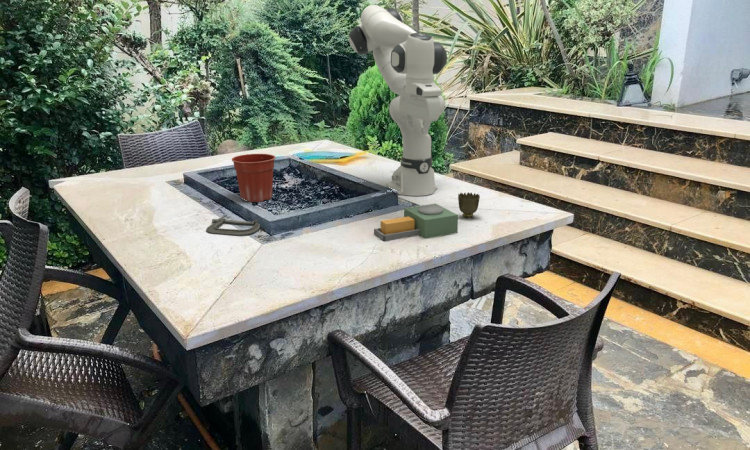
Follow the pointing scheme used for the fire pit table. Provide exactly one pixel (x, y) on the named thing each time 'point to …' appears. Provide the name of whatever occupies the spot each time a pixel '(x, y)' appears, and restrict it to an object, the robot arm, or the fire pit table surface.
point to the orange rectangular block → (397, 225)
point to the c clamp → (233, 232)
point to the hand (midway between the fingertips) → (417, 130)
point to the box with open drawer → (426, 222)
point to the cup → (468, 204)
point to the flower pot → (255, 176)
